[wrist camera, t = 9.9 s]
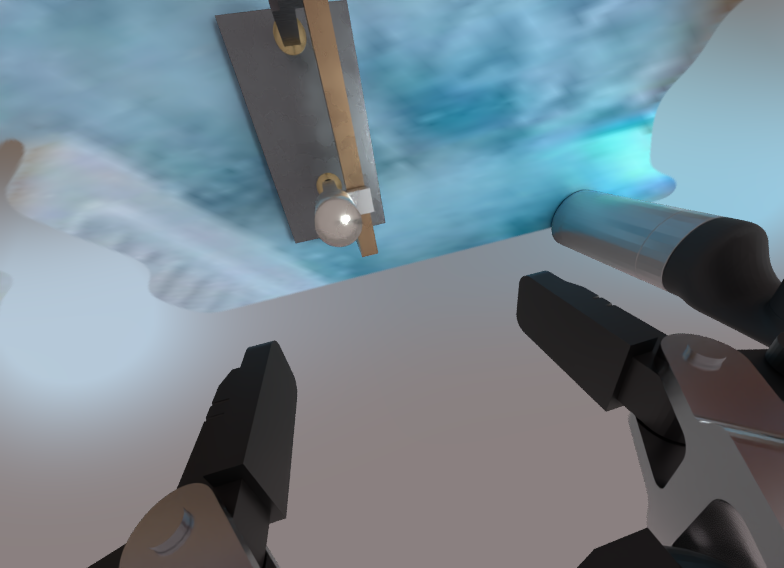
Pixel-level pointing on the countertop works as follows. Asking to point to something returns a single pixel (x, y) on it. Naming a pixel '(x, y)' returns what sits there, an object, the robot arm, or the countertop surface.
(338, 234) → the grey elongated rounded piece
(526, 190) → the countertop surface
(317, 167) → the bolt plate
